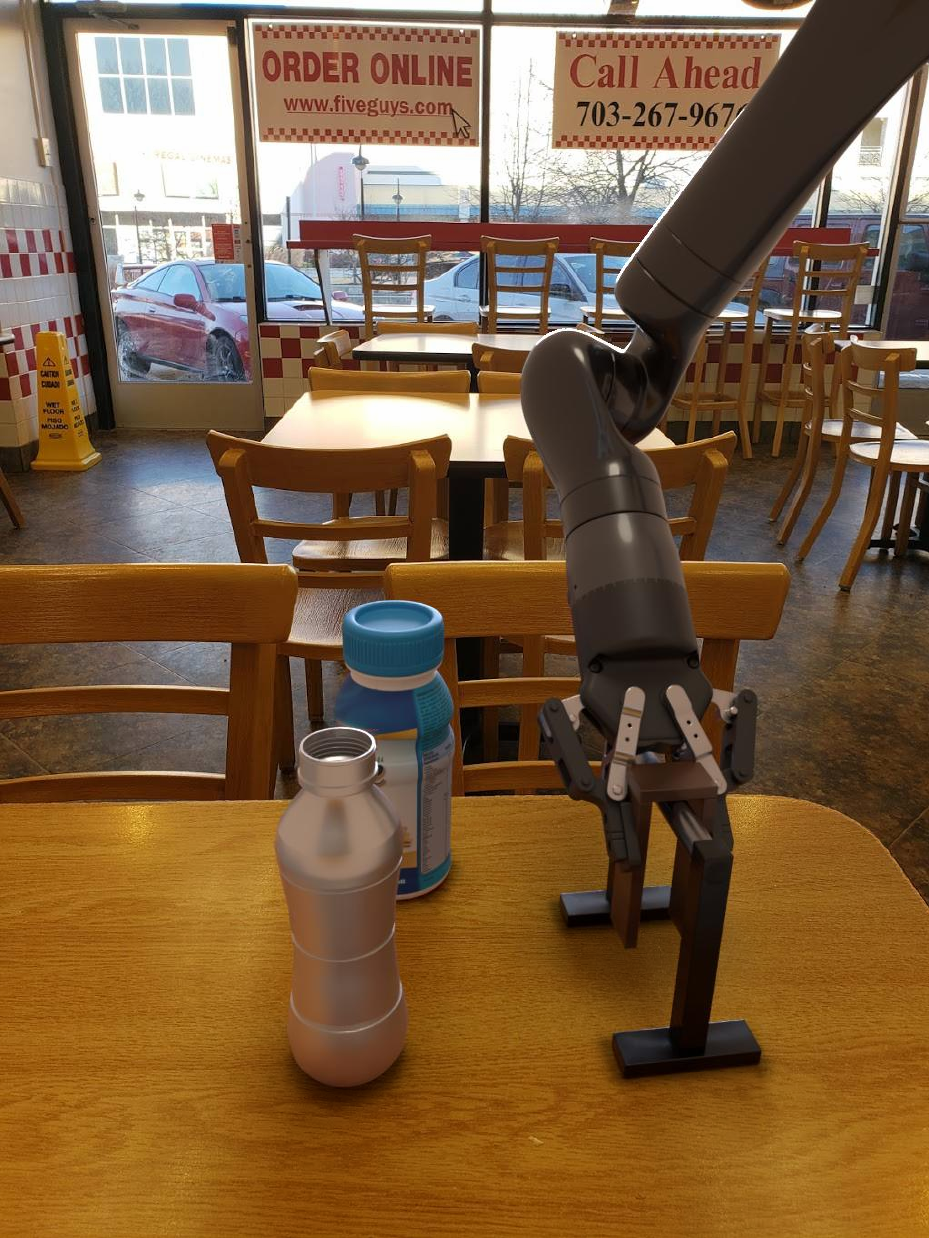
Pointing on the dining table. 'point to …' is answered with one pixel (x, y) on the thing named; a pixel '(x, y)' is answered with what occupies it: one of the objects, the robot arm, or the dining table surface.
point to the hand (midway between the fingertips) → (674, 865)
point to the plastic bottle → (342, 911)
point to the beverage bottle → (404, 726)
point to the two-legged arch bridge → (643, 790)
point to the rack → (680, 957)
